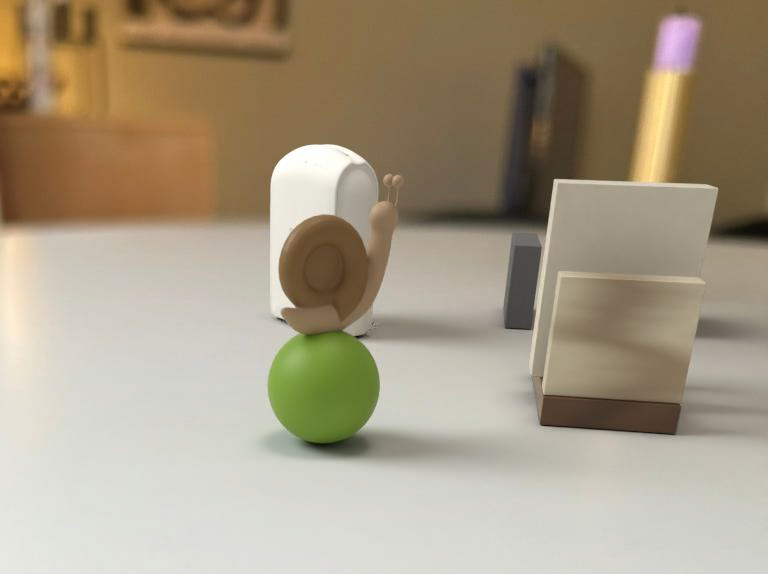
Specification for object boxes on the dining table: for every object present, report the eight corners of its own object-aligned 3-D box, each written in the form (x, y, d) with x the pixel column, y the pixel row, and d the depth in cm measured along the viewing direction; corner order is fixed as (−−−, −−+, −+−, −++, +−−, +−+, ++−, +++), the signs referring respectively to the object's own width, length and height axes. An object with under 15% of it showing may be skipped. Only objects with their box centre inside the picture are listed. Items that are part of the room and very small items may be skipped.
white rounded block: (261, 316, 79) (263, 141, 73) (308, 312, 80) (313, 141, 75) (329, 341, 71) (337, 147, 65) (379, 336, 73) (391, 147, 67)
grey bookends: (649, 316, 83) (664, 238, 80) (666, 337, 75) (683, 252, 72) (503, 308, 84) (512, 232, 82) (504, 327, 77) (514, 244, 74)
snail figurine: (414, 445, 49) (437, 178, 44) (305, 464, 46) (315, 179, 40) (350, 418, 53) (364, 170, 48) (246, 434, 50) (248, 171, 44)
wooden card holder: (645, 380, 62) (669, 253, 59) (676, 434, 52) (708, 283, 48) (531, 373, 63) (548, 248, 60) (539, 424, 53) (560, 276, 49)
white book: (528, 364, 59) (554, 178, 54) (669, 373, 58) (707, 184, 53) (530, 376, 56) (557, 182, 51) (677, 385, 55) (719, 188, 50)
